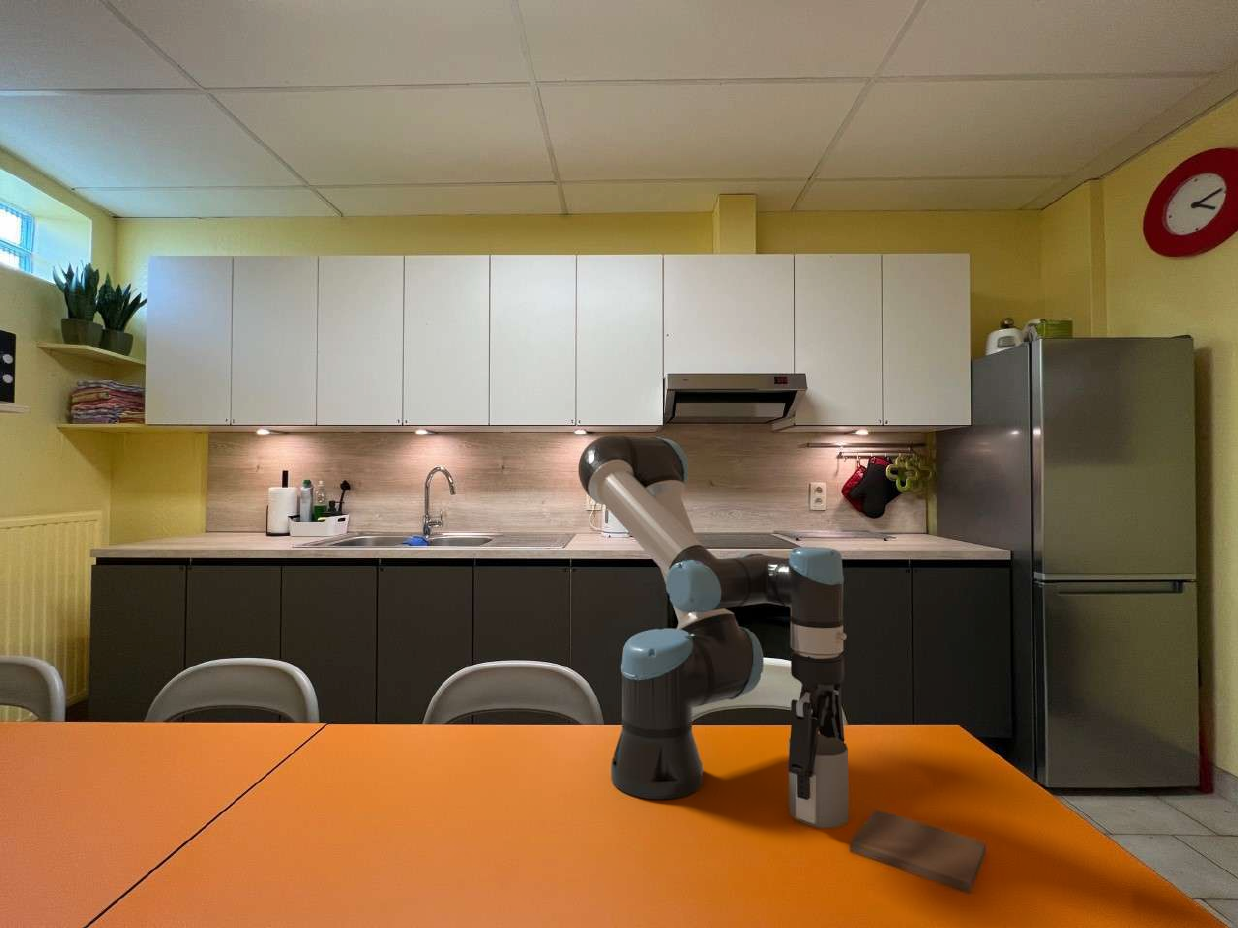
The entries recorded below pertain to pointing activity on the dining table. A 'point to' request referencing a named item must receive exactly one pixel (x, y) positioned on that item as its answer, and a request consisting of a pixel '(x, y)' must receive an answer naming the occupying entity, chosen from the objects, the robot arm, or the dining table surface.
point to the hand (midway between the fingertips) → (818, 806)
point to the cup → (827, 784)
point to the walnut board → (920, 849)
